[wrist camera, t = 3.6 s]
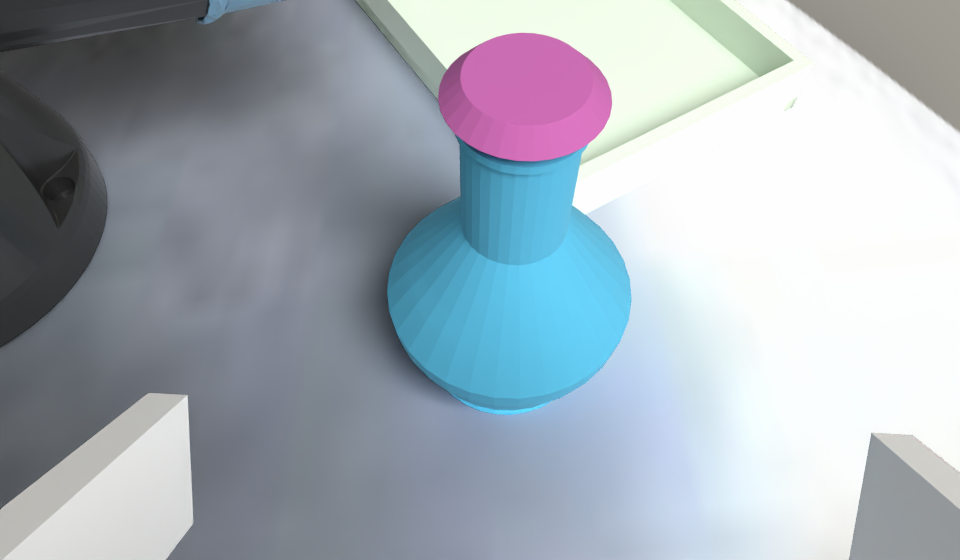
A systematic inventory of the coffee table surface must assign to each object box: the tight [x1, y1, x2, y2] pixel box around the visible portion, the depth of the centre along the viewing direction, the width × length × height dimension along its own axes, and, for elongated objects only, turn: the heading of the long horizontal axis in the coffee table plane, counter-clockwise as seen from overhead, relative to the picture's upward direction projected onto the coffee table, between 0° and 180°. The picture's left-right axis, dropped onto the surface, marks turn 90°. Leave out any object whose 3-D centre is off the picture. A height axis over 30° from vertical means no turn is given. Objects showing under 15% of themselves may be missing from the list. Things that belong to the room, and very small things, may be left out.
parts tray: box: [356, 0, 814, 214], centre depth 40 cm, size 21×16×3 cm
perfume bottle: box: [387, 33, 631, 415], centre depth 25 cm, size 9×9×15 cm
